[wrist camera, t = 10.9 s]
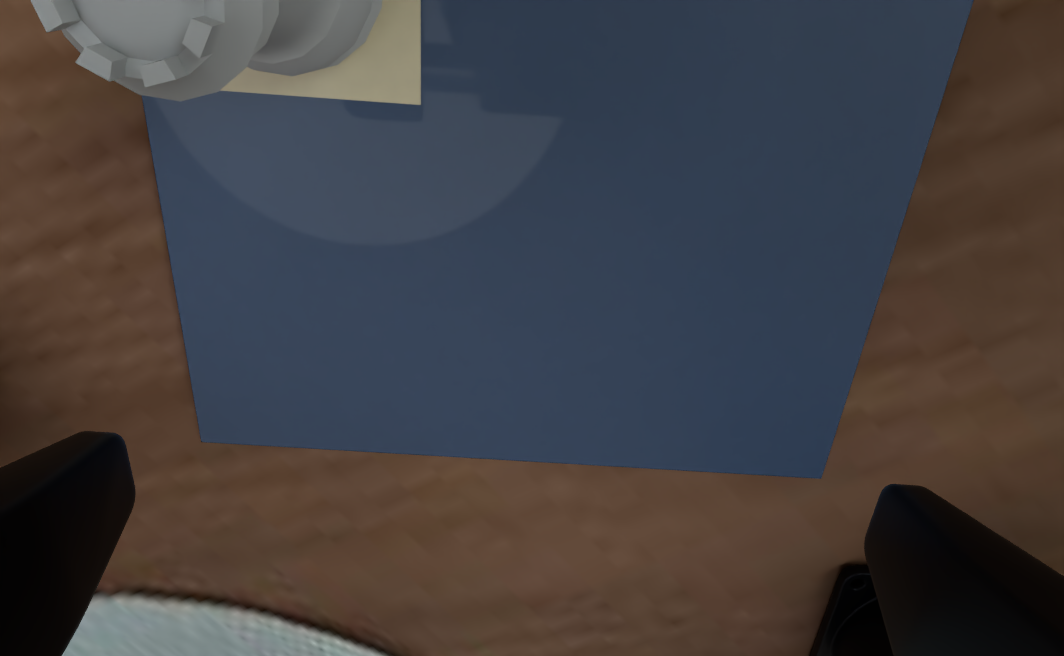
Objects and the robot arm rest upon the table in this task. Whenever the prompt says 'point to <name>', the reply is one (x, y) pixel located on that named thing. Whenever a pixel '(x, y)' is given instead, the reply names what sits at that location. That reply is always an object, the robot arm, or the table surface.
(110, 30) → the rook chess piece
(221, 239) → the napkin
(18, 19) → the table surface
